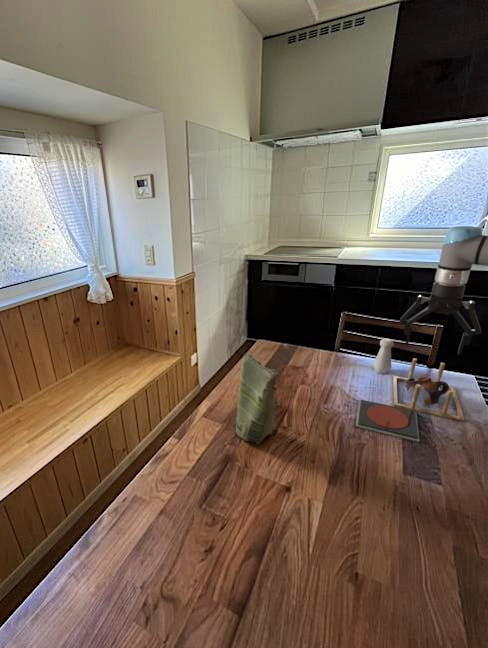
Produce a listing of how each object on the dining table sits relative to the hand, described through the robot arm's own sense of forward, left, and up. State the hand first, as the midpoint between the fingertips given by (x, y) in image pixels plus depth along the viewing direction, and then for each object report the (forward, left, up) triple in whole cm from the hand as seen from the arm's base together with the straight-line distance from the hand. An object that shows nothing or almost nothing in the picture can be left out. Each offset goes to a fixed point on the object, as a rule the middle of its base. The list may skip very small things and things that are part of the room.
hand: (432, 348), depth 105 cm
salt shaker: (+12, -12, -18) cm, 24 cm away
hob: (+10, +19, -18) cm, 27 cm away
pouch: (+44, +41, -18) cm, 62 cm away
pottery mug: (-1, +1, -18) cm, 18 cm away
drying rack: (-1, +1, -17) cm, 17 cm away
